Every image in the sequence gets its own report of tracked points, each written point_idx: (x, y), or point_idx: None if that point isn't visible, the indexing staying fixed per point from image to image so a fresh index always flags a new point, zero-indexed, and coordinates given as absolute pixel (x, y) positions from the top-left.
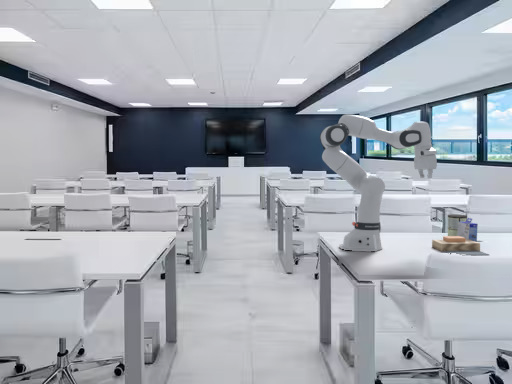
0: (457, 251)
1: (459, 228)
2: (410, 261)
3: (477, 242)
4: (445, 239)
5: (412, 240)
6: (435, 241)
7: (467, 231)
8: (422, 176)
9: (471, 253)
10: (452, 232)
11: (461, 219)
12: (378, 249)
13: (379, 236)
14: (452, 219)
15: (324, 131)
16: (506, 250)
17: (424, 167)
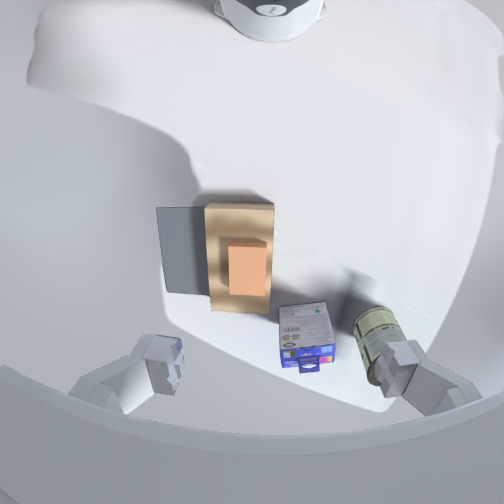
0: (199, 240)
1: (324, 330)
2: (101, 80)
3: (221, 310)
4: (250, 243)
5: (385, 197)
6: (249, 208)
7: (286, 331)
8: (385, 362)
9: (176, 261)
10: (372, 322)
11: (367, 365)
12: (231, 23)
13: (246, 15)
14: None
15: None
16: (220, 348)
17: (127, 446)
